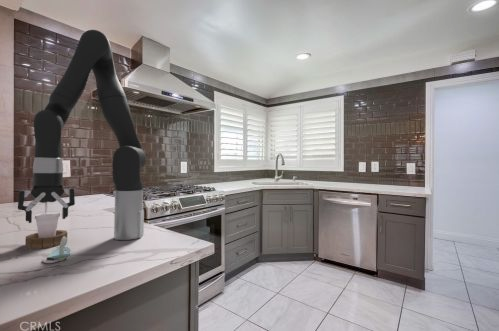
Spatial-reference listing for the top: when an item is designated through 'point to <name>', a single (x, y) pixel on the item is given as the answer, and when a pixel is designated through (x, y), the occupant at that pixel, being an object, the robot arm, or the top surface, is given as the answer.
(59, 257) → the pacifier
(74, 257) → the top surface
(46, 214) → the smoothie
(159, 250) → the top surface
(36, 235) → the brown polygonal ring
